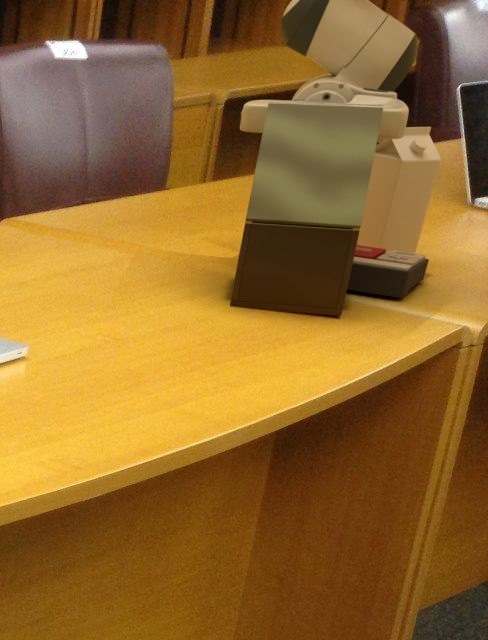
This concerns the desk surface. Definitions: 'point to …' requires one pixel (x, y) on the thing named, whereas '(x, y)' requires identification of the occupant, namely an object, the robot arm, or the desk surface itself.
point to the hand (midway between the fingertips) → (322, 125)
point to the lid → (314, 165)
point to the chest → (294, 267)
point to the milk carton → (399, 191)
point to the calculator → (386, 271)
